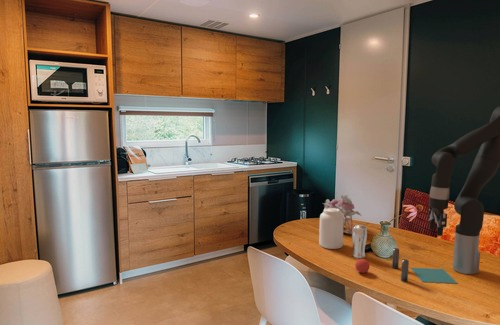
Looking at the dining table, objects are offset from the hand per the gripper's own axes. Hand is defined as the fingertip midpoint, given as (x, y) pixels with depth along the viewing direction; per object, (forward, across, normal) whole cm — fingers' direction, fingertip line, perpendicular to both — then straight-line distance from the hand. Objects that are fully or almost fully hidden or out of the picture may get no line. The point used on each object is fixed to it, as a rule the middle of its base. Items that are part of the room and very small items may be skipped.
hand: (435, 232), depth 158 cm
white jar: (+19, +26, +42) cm, 53 cm away
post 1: (+18, 0, +16) cm, 24 cm away
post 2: (+18, -13, +16) cm, 27 cm away
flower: (+19, +53, +33) cm, 65 cm away
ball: (+15, -7, +32) cm, 36 cm away
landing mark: (+17, -7, +2) cm, 19 cm away
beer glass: (+18, +12, +30) cm, 37 cm away
